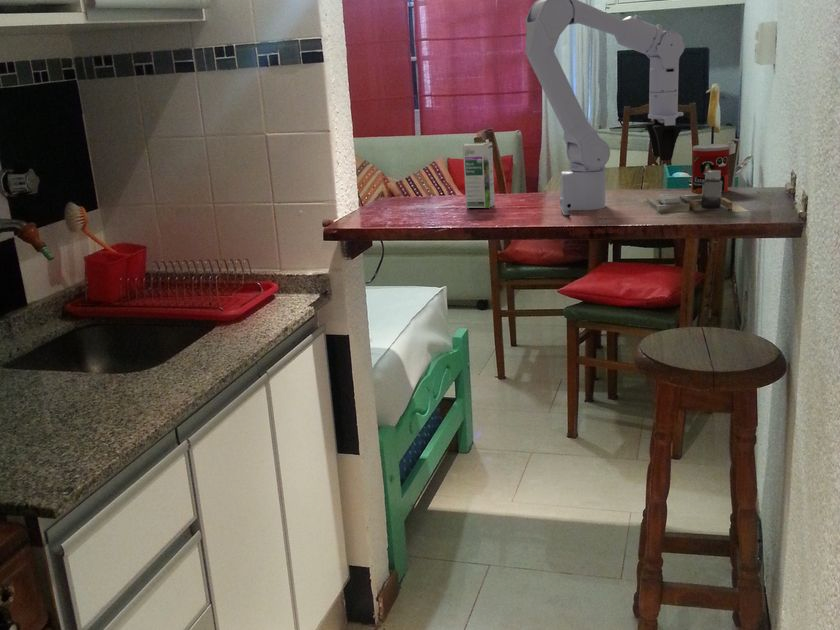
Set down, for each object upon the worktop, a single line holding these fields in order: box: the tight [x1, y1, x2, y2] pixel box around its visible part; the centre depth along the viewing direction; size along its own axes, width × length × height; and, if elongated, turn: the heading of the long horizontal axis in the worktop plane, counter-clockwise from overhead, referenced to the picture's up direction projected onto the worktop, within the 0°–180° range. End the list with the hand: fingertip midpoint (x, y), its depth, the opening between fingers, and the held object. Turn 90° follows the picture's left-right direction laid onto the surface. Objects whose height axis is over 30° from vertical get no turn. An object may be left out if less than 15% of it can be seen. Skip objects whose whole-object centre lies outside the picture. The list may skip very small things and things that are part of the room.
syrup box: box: [462, 141, 495, 209], centre depth 186 cm, size 6×6×14 cm
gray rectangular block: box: [658, 193, 680, 205], centre depth 166 cm, size 3×6×2 cm, turn 175°
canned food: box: [690, 143, 730, 195], centre depth 181 cm, size 8×8×11 cm
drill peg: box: [701, 170, 722, 208], centre depth 160 cm, size 4×4×7 cm
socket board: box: [643, 194, 749, 216], centre depth 167 cm, size 17×17×3 cm
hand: (662, 158), depth 173 cm, fingers open, 7 cm apart
